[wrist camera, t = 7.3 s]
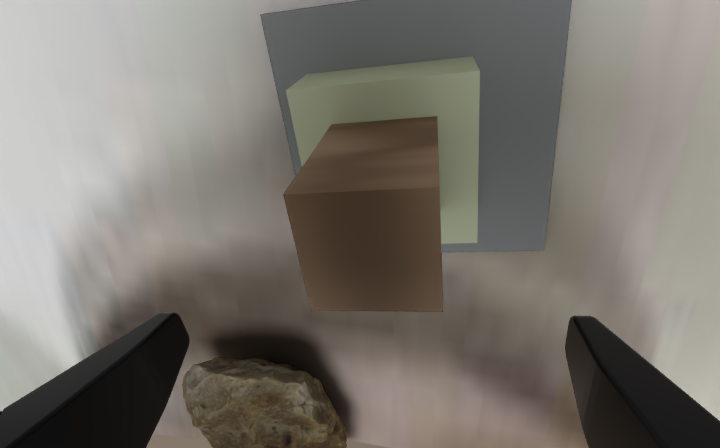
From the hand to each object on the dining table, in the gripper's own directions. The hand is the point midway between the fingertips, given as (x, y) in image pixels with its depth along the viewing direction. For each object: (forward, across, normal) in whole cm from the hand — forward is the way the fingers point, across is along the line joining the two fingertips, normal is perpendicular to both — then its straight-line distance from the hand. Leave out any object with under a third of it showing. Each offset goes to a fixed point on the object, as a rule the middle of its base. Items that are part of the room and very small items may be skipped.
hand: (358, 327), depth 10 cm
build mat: (+12, -1, 0) cm, 12 cm away
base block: (+12, 0, 0) cm, 12 cm away
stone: (+12, +10, +18) cm, 24 cm away
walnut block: (+8, 0, 0) cm, 9 cm away
